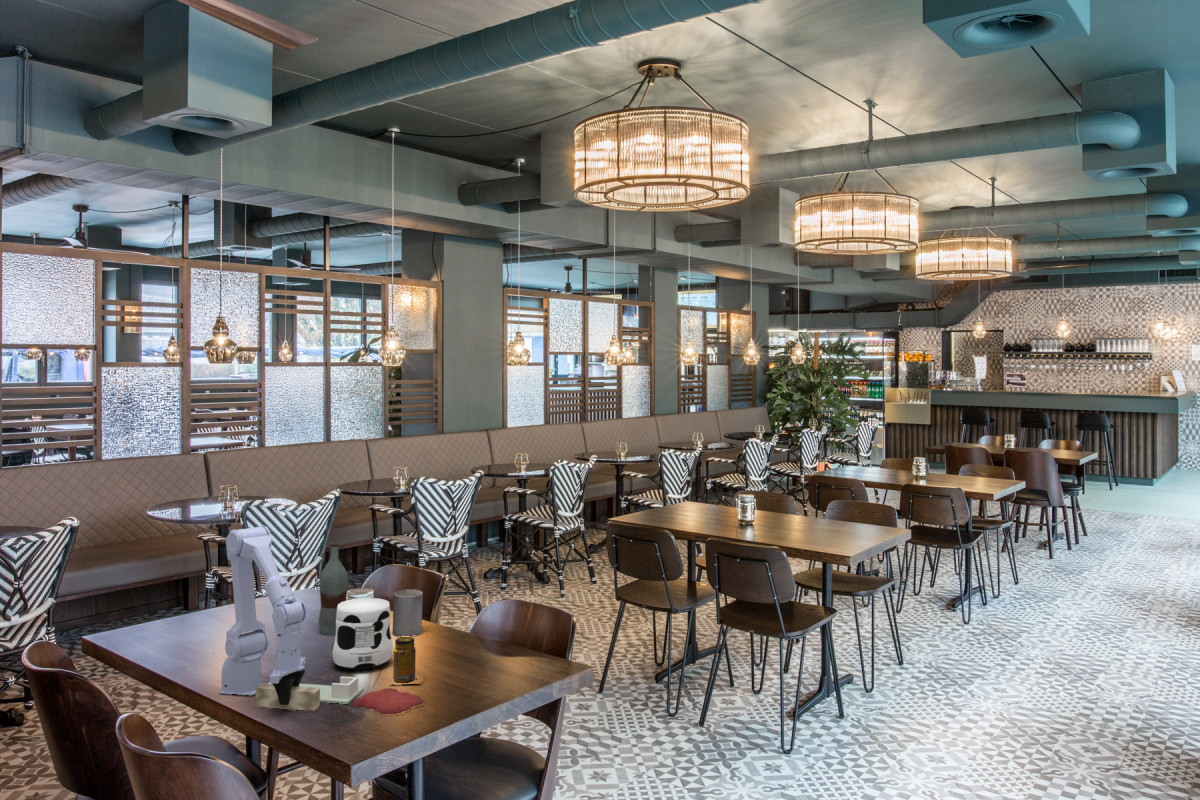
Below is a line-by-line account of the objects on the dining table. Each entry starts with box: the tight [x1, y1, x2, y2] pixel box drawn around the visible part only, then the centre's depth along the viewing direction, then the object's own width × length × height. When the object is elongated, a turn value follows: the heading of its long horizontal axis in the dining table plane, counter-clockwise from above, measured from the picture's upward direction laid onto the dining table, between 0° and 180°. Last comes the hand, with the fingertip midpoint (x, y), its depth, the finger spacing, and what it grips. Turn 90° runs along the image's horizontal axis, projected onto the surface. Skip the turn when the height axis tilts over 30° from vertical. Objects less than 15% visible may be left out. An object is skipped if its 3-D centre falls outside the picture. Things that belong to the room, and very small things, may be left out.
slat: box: [255, 683, 321, 712], centre depth 205 cm, size 16×3×5 cm, turn 82°
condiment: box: [392, 636, 417, 683], centre depth 225 cm, size 7×8×12 cm
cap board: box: [299, 683, 365, 705], centre depth 214 cm, size 24×10×1 cm, turn 83°
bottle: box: [318, 542, 349, 636], centre depth 270 cm, size 9×9×30 cm
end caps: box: [266, 676, 359, 699], centre depth 214 cm, size 23×6×4 cm, turn 83°
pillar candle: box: [392, 588, 424, 637], centre depth 270 cm, size 10×10×15 cm
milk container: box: [331, 597, 394, 671], centre depth 238 cm, size 17×17×18 cm
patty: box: [351, 687, 424, 714], centre depth 209 cm, size 18×14×2 cm
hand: (287, 701), depth 205 cm, fingers closed on slat, 3 cm apart
